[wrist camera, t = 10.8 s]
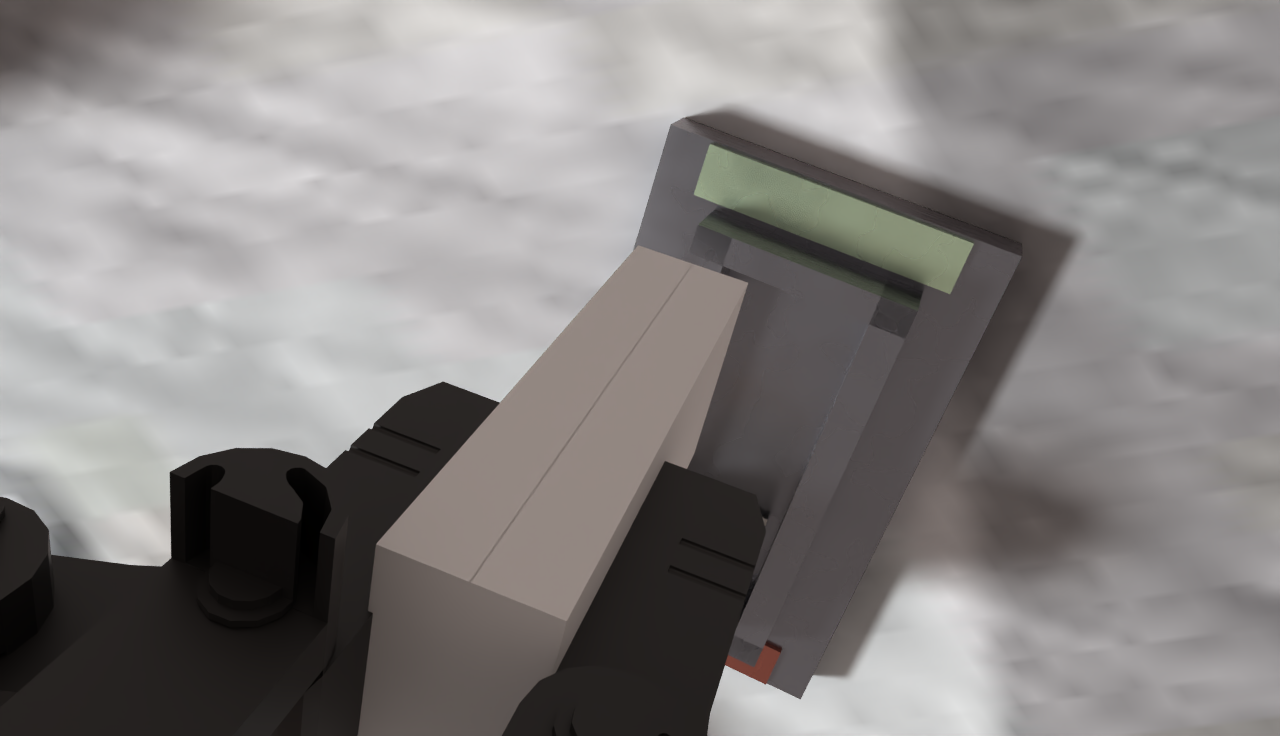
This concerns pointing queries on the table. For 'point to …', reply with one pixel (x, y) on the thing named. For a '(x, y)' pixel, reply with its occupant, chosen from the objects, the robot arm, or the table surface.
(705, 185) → the dark gray tray
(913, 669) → the table surface
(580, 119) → the table surface
